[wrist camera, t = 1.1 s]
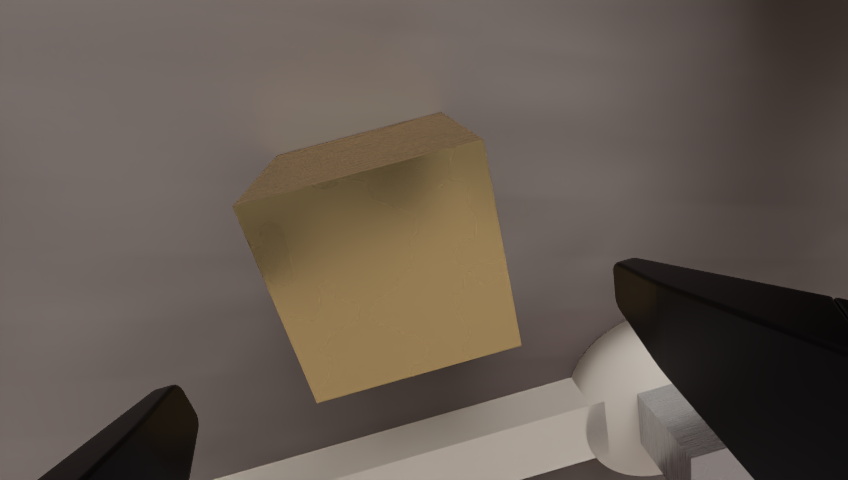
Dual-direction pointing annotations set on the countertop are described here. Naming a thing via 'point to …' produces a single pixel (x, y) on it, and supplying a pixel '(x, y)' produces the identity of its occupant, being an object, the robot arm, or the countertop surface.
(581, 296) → the countertop surface
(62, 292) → the countertop surface
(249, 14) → the countertop surface
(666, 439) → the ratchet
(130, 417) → the robot arm
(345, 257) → the tan cardboard cube
